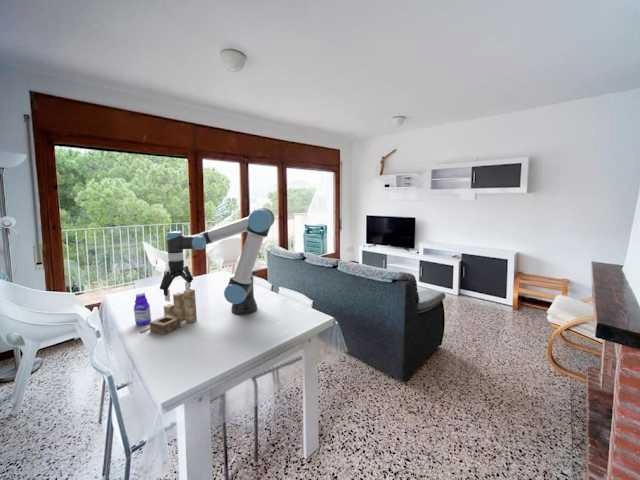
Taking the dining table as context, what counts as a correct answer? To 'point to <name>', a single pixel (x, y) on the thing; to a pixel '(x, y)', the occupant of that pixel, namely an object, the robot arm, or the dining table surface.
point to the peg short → (169, 310)
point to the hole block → (165, 325)
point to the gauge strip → (145, 330)
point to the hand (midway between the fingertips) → (178, 297)
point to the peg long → (190, 306)
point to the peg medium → (179, 305)
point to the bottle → (142, 309)
